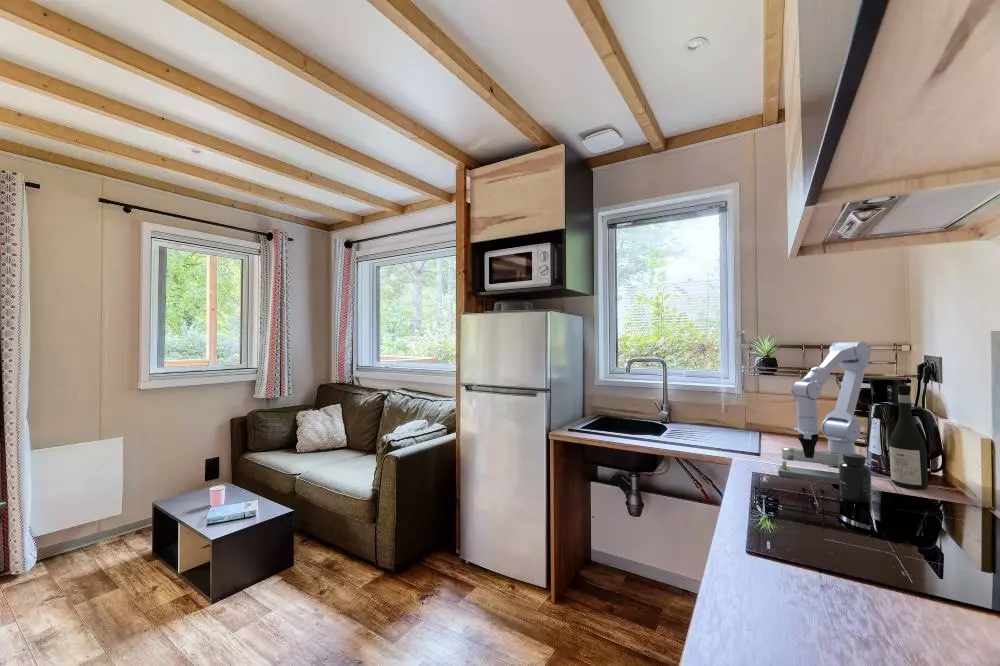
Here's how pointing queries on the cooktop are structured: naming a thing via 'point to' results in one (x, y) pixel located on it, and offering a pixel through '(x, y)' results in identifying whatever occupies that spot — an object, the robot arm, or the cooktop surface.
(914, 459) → the wine bottle
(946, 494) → the cooktop surface
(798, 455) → the grey long block
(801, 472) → the tool board
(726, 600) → the cooktop surface
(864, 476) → the supplement bottle
